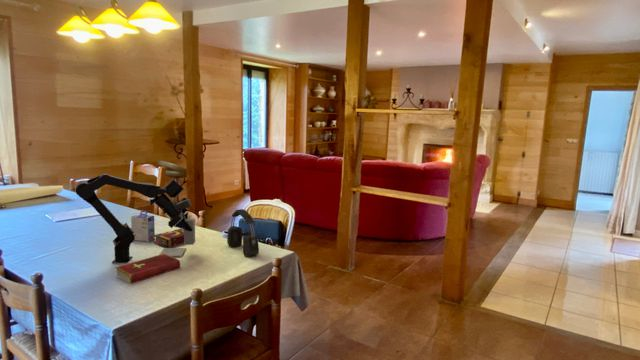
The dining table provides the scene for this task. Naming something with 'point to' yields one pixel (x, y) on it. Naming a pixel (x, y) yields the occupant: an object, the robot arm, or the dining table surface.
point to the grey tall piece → (189, 232)
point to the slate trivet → (173, 251)
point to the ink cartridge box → (143, 227)
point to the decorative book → (170, 238)
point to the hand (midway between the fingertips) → (192, 229)
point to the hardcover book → (147, 268)
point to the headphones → (249, 240)
